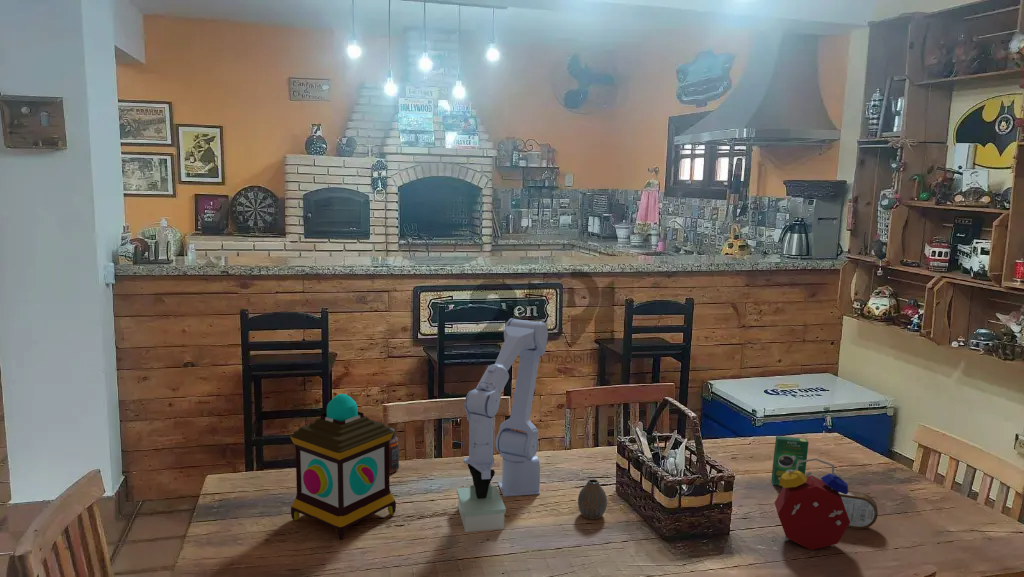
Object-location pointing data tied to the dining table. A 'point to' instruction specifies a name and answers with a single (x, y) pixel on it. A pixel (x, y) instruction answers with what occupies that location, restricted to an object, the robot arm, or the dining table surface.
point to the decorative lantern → (342, 467)
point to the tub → (481, 521)
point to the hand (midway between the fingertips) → (480, 495)
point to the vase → (592, 500)
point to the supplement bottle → (393, 453)
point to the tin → (859, 509)
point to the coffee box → (788, 456)
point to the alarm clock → (812, 508)
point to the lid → (480, 502)
